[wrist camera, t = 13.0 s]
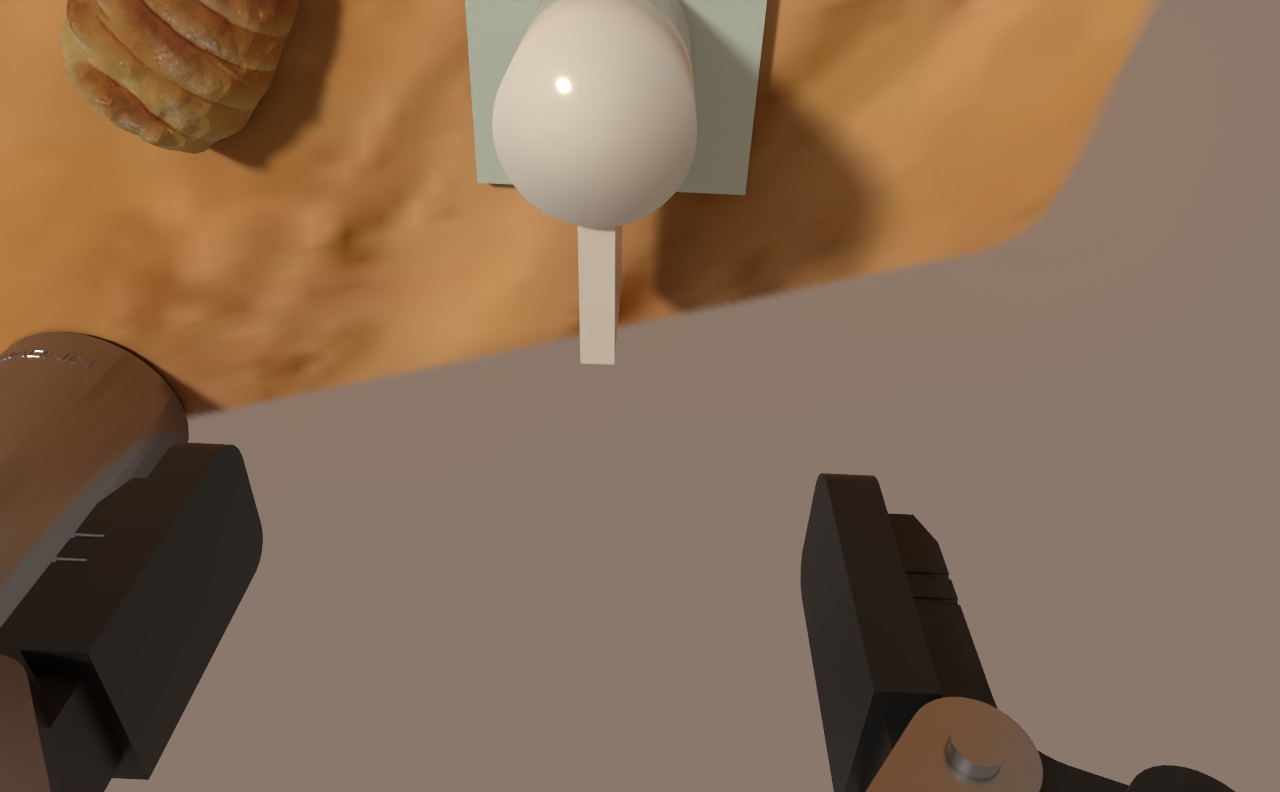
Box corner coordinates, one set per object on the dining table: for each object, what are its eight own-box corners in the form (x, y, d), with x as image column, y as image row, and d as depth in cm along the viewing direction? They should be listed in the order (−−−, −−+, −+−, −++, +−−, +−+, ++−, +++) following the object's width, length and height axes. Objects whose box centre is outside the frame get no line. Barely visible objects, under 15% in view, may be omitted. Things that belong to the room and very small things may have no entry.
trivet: (744, 189, 37) (745, 195, 37) (480, 177, 37) (477, 182, 37) (777, -114, 31) (779, -112, 30) (459, -129, 31) (456, -127, 30)
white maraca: (525, -43, 32) (484, 23, 24) (695, -38, 32) (703, 29, 24) (540, 250, 38) (511, 369, 31) (679, 254, 38) (682, 374, 31)
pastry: (196, -163, 31) (144, -156, 28) (356, -8, 33) (325, 15, 30) (68, 33, 34) (9, 59, 31) (221, 157, 37) (181, 193, 34)
